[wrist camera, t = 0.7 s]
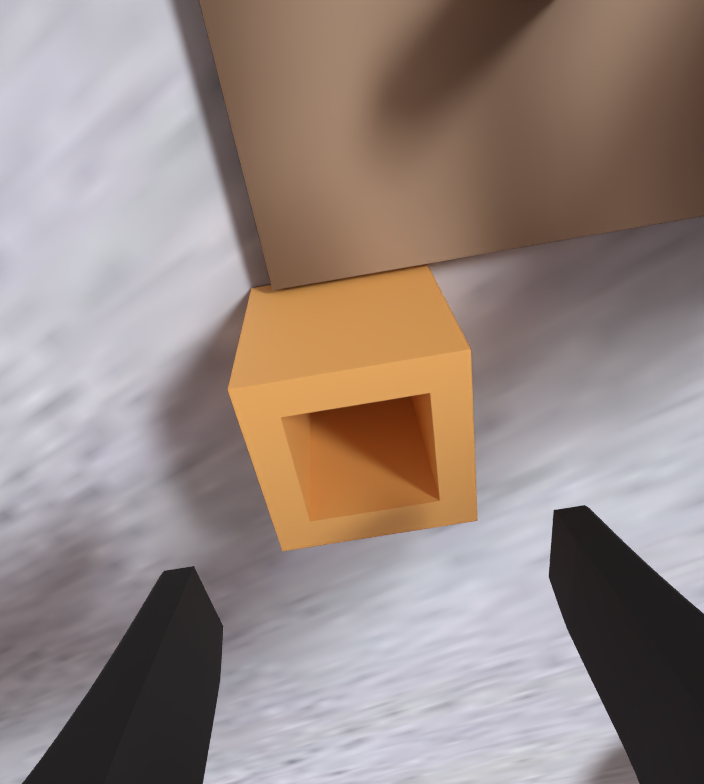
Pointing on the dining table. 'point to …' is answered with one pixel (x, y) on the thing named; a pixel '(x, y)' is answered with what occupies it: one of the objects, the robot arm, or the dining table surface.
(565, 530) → the robot arm
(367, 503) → the orange hollow cube
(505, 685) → the dining table surface
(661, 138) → the wooden board with peg
